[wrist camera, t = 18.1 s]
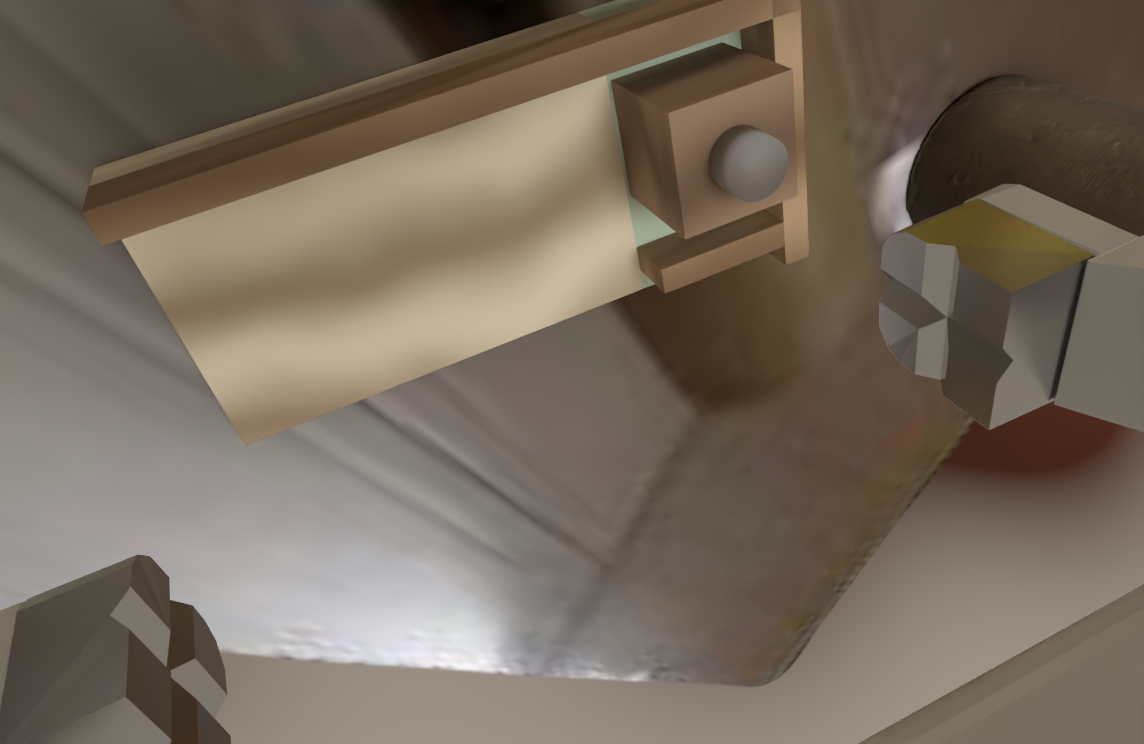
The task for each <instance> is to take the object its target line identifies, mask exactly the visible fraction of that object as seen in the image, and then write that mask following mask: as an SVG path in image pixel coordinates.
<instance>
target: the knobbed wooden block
mask: <svg viewBox="0 0 1144 744" xmlns="http://www.w3.org/2000/svg"><path fill="white" fill-rule="evenodd" d="M611 85H612V91H613V97H614V102H615V108H616V114H617V120H618V125H619V131H620V137H621V143H622V148H623V154H624V160H625V166H626V171H627V177H628V183H629V189H630V194H631V196H632V197H633V198H635V199H636V200H637V201H638V202H640V203H641V204H642V205H643V206H644V207H646V208H647V209H648V210H649V211H651V212H652V213H653V214H654V215H656V216H657V217H658V218H659V219H661V220H662V221H663V222H664V223H665V224H667V225H668V226H669V227H670V228H672V229H673V230H674V231H675V232H677V233H678V234H679V235H680V236H682V237H683V238H684V239H688V238H691V237H693V236H696V235H698V234H701V233H703V232H706V231H709V230H711V229H714V228H716V227H719V226H722V225H724V224H727V223H729V222H732V221H735V220H737V219H740V218H742V217H745V216H747V215H750V214H753V213H755V212H758V211H760V210H763V209H766V208H768V207H771V206H773V205H776V204H778V203H781V202H784V201H786V200H789V199H791V198H794V197H797V196H798V184H797V159H796V134H795V109H794V84H793V69H791V68H789V67H786V66H784V65H781V64H778V63H776V62H773V61H770V60H768V59H765V58H763V57H760V56H757V55H755V54H752V53H749V52H747V51H744V50H742V49H739V48H736V47H734V46H731V45H728V44H726V43H723V42H721V43H718V44H715V45H712V46H709V47H706V48H704V49H701V50H698V51H695V52H692V53H689V54H686V55H683V56H680V57H677V58H674V59H671V60H668V61H665V62H663V63H660V64H657V65H654V66H651V67H648V68H645V69H642V70H639V71H636V72H633V73H630V74H627V75H624V76H622V77H619V78H616V79H613V80H611Z"/></svg>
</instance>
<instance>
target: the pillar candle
mask: <svg viewBox="0 0 1144 744" xmlns="http://www.w3.org/2000/svg"><path fill="white" fill-rule="evenodd" d="M1002 184H1020V185H1023V186H1025V187H1027V188H1030V189H1032V190H1034V191H1036V192H1039V193H1041V194H1043V195H1045V196H1048V197H1050V198H1052V199H1054V200H1057V201H1059V202H1061V203H1063V204H1066V205H1068V206H1070V207H1073V208H1075V209H1077V210H1079V211H1082V212H1084V213H1086V214H1088V215H1091V216H1093V217H1095V218H1097V219H1100V220H1102V221H1104V222H1107V223H1109V224H1111V225H1113V226H1116V227H1118V228H1120V229H1122V230H1125V231H1127V232H1129V233H1131V234H1134V235H1136V236H1138V237H1141V236H1143V235H1144V110H1143V109H1140V108H1137V107H1133V106H1130V105H1127V104H1123V103H1120V102H1117V101H1114V100H1111V99H1108V98H1103V97H1099V96H1095V95H1091V94H1088V93H1085V92H1082V91H1080V90H1079V89H1074V88H1070V87H1067V86H1063V85H1060V84H1056V83H1053V82H1048V81H1042V80H1038V79H1034V78H1030V77H1025V76H1020V75H1009V76H1002V77H998V78H994V79H991V80H990V81H987V82H985V83H983V84H981V85H979V86H978V87H977V88H975V89H974V90H972V91H971V92H969V93H967V94H966V95H965V96H963V97H962V98H961V99H960V100H959V101H957V102H956V103H955V104H953V105H952V106H951V107H950V108H949V109H948V110H947V111H946V112H945V113H944V114H943V115H942V116H941V118H940V119H939V120H938V123H937V124H936V125H934V127H933V128H932V130H931V131H930V133H929V135H928V137H927V139H926V140H925V142H923V144H922V149H921V150H920V151H919V154H918V156H917V159H916V162H915V165H914V168H913V170H912V174H911V182H910V188H909V192H908V201H907V203H908V205H907V208H908V212H909V214H910V218H911V220H912V222H913V225H914V224H916V223H919V222H921V221H923V220H925V219H928V218H930V217H932V216H935V215H937V214H939V213H942V212H944V211H946V210H949V209H951V208H953V207H955V206H958V205H960V204H963V203H964V202H965V201H966V200H969V199H971V198H973V197H975V196H977V195H980V194H982V193H984V192H986V191H988V190H991V189H993V188H995V187H997V186H999V185H1002Z"/></svg>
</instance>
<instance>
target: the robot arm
mask: <svg viewBox="0 0 1144 744" xmlns="http://www.w3.org/2000/svg"><path fill="white" fill-rule="evenodd" d="M881 269H882V271H883V272H884V273H885V274H886V275H887V276H888V277H889V278H890V279H891V282H890V284H889V285H888V287H887V289H886V291H885V292H884V294H883V296H882V298H881V300H880V301H879V326H880V329H881V331H882V334H883V336H884V339H885V341H886V344H887V347H888V348H889V349H890V351H891V352H892V353H893V354H894V356H895V357H896V358H897V360H898V361H899V362H900V363H901V364H903V365H904V366H905V367H907V368H908V369H909V370H910V371H912V372H913V373H914V374H917V375H921V376H926V377H931V378H935V379H940V380H941V385H942V390H943V395H944V397H946V398H947V399H948V400H950V401H951V402H952V403H954V404H955V405H956V406H958V407H959V408H960V409H962V410H963V411H964V412H965V413H967V414H968V415H969V416H971V417H972V418H973V419H975V420H976V421H977V422H979V423H980V424H982V425H983V426H984V427H985V428H987V429H988V430H990V429H993V428H995V427H997V426H999V425H1001V424H1003V423H1006V422H1008V421H1010V420H1012V419H1015V418H1017V417H1019V416H1021V415H1023V414H1025V413H1027V412H1030V411H1032V410H1034V409H1036V408H1039V407H1041V406H1043V405H1045V404H1047V403H1050V402H1052V401H1054V400H1055V402H1054V405H1058V406H1061V407H1064V408H1068V409H1071V410H1074V411H1077V412H1080V413H1084V414H1087V415H1090V416H1093V417H1097V418H1100V419H1103V420H1106V421H1109V422H1113V423H1116V424H1119V425H1122V426H1126V427H1129V428H1132V429H1135V430H1139V431H1142V432H1144V235H1143V236H1141V237H1138V236H1136V235H1134V234H1131V233H1129V232H1127V231H1125V230H1122V229H1120V228H1118V227H1116V226H1113V225H1111V224H1109V223H1107V222H1104V221H1102V220H1100V219H1097V218H1095V217H1093V216H1091V215H1088V214H1086V213H1084V212H1082V211H1079V210H1077V209H1075V208H1073V207H1070V206H1068V205H1066V204H1063V203H1061V202H1059V201H1057V200H1054V199H1052V198H1050V197H1048V196H1045V195H1043V194H1041V193H1039V192H1036V191H1034V190H1032V189H1030V188H1027V187H1025V186H1023V185H1020V184H1002V185H999V186H997V187H995V188H993V189H991V190H988V191H986V192H984V193H982V194H980V195H977V196H975V197H973V198H971V199H969V200H966V201H965V202H964V203H963V204H960V205H958V206H955V207H953V208H951V209H949V210H946V211H944V212H942V213H939V214H937V215H935V216H932V217H930V218H928V219H925V220H923V221H921V222H919V223H916V224H914V225H912V226H909V227H907V228H905V229H902V230H900V231H898V232H895V233H893V234H891V235H889V236H888V238H887V240H886V242H885V244H884V247H883V249H882V260H881ZM226 696H227V688H226V678H225V669H224V665H223V662H222V659H221V656H220V652H219V649H218V646H217V643H216V640H215V638H214V636H213V635H212V633H211V631H210V629H209V627H208V626H207V624H206V622H205V620H204V619H203V618H202V617H201V615H200V614H199V613H198V612H197V610H196V609H195V608H194V607H193V606H192V605H188V604H184V603H180V602H176V601H172V600H170V588H169V577H168V576H167V575H166V573H165V572H164V571H163V570H162V569H161V568H160V567H159V566H158V565H157V564H156V563H155V561H154V560H153V559H152V558H151V557H150V556H144V555H136V556H133V557H131V558H128V559H126V560H123V561H121V562H118V563H116V564H113V565H111V566H108V567H106V568H103V569H101V570H98V571H96V572H93V573H91V574H88V575H86V576H83V577H81V578H78V579H76V580H73V581H71V582H69V583H66V584H64V585H61V586H59V587H56V588H54V589H51V590H49V591H46V592H44V593H41V594H39V595H36V596H34V597H31V598H29V599H27V601H25V602H22V603H18V604H16V605H13V606H11V607H9V608H6V609H4V610H1V611H0V744H231V739H230V735H229V734H228V733H227V732H226V731H225V729H224V728H223V727H222V726H221V725H220V724H219V723H218V722H217V721H216V720H215V717H216V715H217V713H218V711H219V709H220V707H221V706H222V704H223V702H224V700H225V698H226ZM858 744H1144V585H1142V586H1140V587H1138V588H1136V589H1134V590H1133V591H1131V592H1129V593H1127V594H1125V595H1124V596H1122V597H1120V598H1118V599H1117V600H1115V601H1113V602H1111V603H1109V604H1108V605H1106V606H1104V607H1102V608H1100V609H1099V610H1097V611H1095V612H1093V613H1091V614H1090V615H1088V616H1086V617H1084V618H1082V619H1081V620H1079V621H1077V622H1075V623H1073V624H1072V625H1070V626H1068V627H1067V628H1065V629H1063V630H1061V631H1059V632H1057V633H1056V634H1054V635H1052V636H1051V637H1049V638H1047V639H1045V640H1043V641H1041V642H1040V643H1038V644H1036V645H1034V646H1032V647H1030V648H1029V649H1027V650H1025V651H1023V652H1022V653H1020V654H1018V655H1016V656H1014V657H1013V658H1011V659H1009V660H1007V661H1005V662H1004V663H1002V664H1000V665H998V666H996V667H995V668H993V669H991V670H989V671H987V672H986V673H984V674H982V675H980V676H978V677H977V678H975V679H973V680H971V681H970V682H968V683H966V684H964V685H963V686H961V687H959V688H957V689H955V690H954V691H952V692H950V693H948V694H947V695H944V696H943V697H941V698H939V699H937V700H936V701H934V702H932V703H930V704H928V705H927V706H925V707H923V708H921V709H920V710H918V711H916V712H914V713H912V714H910V715H909V716H907V717H905V718H903V719H901V720H900V721H898V722H896V723H894V724H893V725H891V726H889V727H887V728H885V729H884V730H882V731H880V732H878V733H876V734H875V735H873V736H871V737H869V738H867V739H866V740H864V741H862V742H860V743H858Z"/></svg>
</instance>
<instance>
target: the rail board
mask: <svg viewBox="0 0 1144 744" xmlns="http://www.w3.org/2000/svg"><path fill="white" fill-rule="evenodd" d="M721 42H723V43H726V44H728V45H731V46H734V47H736V48H739V49H742V50H744V51H747V52H749V53H752V54H755V55H757V56H760V57H763V58H765V59H768V60H770V61H773V62H776V63H778V64H781V65H784V66H786V67H789V68H791V69H793V84H794V109H795V134H796V159H797V184H798V196H797V197H794V198H791V199H789V200H786V201H784V202H781V203H778V204H776V205H773V206H771V207H768V208H766V209H763V210H760V211H758V212H755V213H753V214H750V215H747V216H745V217H742V218H740V219H737V220H735V221H732V222H729V223H727V224H724V225H722V226H719V227H716V228H714V229H711V230H709V231H706V232H703V233H701V234H698V235H696V236H693V237H691V238H688V239H684V238H683V237H682V236H680V235H679V234H678V233H677V232H675V231H674V230H673V229H672V228H670V227H669V226H668V225H667V224H665V223H664V222H663V221H662V220H661V219H659V218H658V217H657V216H656V215H654V214H653V213H652V212H651V211H649V210H648V209H647V208H646V207H644V206H643V205H642V204H641V203H640V202H638V201H637V200H636V199H635V198H633V197H632V196H631V194H630V189H629V183H628V177H627V171H626V166H625V160H624V154H623V148H622V143H621V137H620V131H619V125H618V120H617V114H616V108H615V102H614V97H613V91H612V85H611V80H613V79H616V78H619V77H622V76H624V75H627V74H630V73H633V72H636V71H639V70H642V69H645V68H648V67H651V66H654V65H657V64H660V63H663V62H665V61H668V60H671V59H674V58H677V57H680V56H683V55H686V54H689V53H692V52H695V51H698V50H701V49H704V48H706V47H709V46H712V45H715V44H718V43H721ZM81 213H82V215H83V216H84V218H85V220H86V221H87V223H88V224H89V226H90V228H91V229H92V231H93V232H94V234H95V236H96V237H97V239H98V241H99V242H100V244H101V245H102V246H104V245H107V244H110V243H113V242H116V241H119V240H122V242H123V243H124V245H125V247H126V248H127V250H128V252H129V253H130V255H131V257H132V258H133V260H134V262H135V263H136V265H137V267H138V268H139V270H140V272H141V273H142V275H143V277H144V278H145V280H146V282H147V283H148V285H149V287H150V288H151V290H152V292H153V293H154V295H155V297H156V298H157V300H158V302H159V303H160V305H161V307H162V308H163V310H164V312H165V313H166V315H167V317H168V318H169V320H170V322H171V323H172V325H173V327H174V328H175V330H176V332H177V333H178V335H179V337H180V338H181V340H182V342H183V343H184V345H185V347H186V348H187V350H188V352H189V353H190V355H191V357H192V358H193V360H194V362H195V363H196V365H197V367H198V368H199V370H200V371H201V373H202V375H203V376H204V378H205V380H206V381H207V383H208V385H209V386H210V388H211V390H212V391H213V393H214V395H215V396H216V398H217V400H218V401H219V403H220V405H221V406H222V408H223V410H224V411H225V413H226V415H227V416H228V418H229V420H230V421H231V423H232V425H233V426H234V428H235V430H236V431H237V433H238V435H239V436H240V438H241V440H242V441H243V443H244V445H245V446H246V445H248V444H251V443H253V442H256V441H258V440H261V439H263V438H266V437H268V436H271V435H274V434H276V433H279V432H281V431H284V430H286V429H289V428H291V427H294V426H296V425H299V424H301V423H304V422H306V421H309V420H312V419H314V418H317V417H319V416H322V415H324V414H327V413H329V412H332V411H334V410H337V409H339V408H342V407H345V406H347V405H350V404H352V403H355V402H357V401H360V400H362V399H365V398H367V397H370V396H372V395H375V394H377V393H380V392H383V391H385V390H388V389H390V388H393V387H395V386H398V385H400V384H403V383H405V382H408V381H410V380H413V379H415V378H418V377H421V376H423V375H426V374H428V373H431V372H433V371H436V370H438V369H441V368H443V367H446V366H448V365H451V364H453V363H456V362H459V361H461V360H464V359H466V358H469V357H471V356H474V355H476V354H479V353H481V352H484V351H486V350H489V349H491V348H494V347H497V346H499V345H502V344H504V343H507V342H509V341H512V340H514V339H517V338H519V337H522V336H524V335H527V334H529V333H532V332H535V331H537V330H540V329H542V328H545V327H547V326H550V325H552V324H555V323H557V322H560V321H562V320H565V319H567V318H570V317H573V316H575V315H578V314H580V313H583V312H585V311H588V310H590V309H593V308H595V307H598V306H600V305H603V304H605V303H608V302H611V301H613V300H616V299H618V298H621V297H623V296H626V295H628V294H631V293H633V292H636V291H638V290H641V289H643V288H646V287H649V286H651V285H654V284H656V285H657V286H658V287H659V288H660V289H661V290H662V291H663V292H664V293H665V294H666V293H668V292H671V291H673V290H676V289H678V288H681V287H683V286H686V285H688V284H691V283H693V282H696V281H698V280H701V279H703V278H706V277H708V276H711V275H713V274H716V273H718V272H721V271H723V270H726V269H728V268H731V267H733V266H736V265H738V264H741V263H743V262H746V261H748V260H751V259H753V258H756V257H758V256H761V255H763V254H766V253H770V254H771V255H773V256H774V257H775V258H777V259H778V260H780V261H781V262H782V263H784V264H785V265H788V264H790V263H793V262H795V261H798V260H800V259H802V258H805V257H807V256H809V246H808V216H807V185H806V155H805V125H804V94H803V64H802V33H801V3H800V0H614V1H611V2H608V3H605V4H602V5H599V6H595V7H592V8H589V9H586V10H583V11H580V12H577V13H574V14H571V15H567V16H564V17H561V18H558V19H555V20H552V21H549V22H546V23H543V24H539V25H536V26H533V27H530V28H527V29H524V30H521V31H518V32H515V33H512V34H508V35H505V36H502V37H499V38H496V39H493V40H490V41H487V42H484V43H480V44H477V45H474V46H471V47H468V48H465V49H462V50H459V51H456V52H452V53H449V54H446V55H443V56H440V57H437V58H434V59H431V60H428V61H425V62H421V63H418V64H415V65H412V66H409V67H406V68H403V69H400V70H397V71H393V72H390V73H387V74H384V75H381V76H378V77H375V78H372V79H369V80H365V81H362V82H359V83H356V84H353V85H350V86H347V87H344V88H341V89H338V90H334V91H331V92H328V93H325V94H322V95H319V96H316V97H313V98H310V99H306V100H303V101H300V102H297V103H294V104H291V105H288V106H285V107H282V108H278V109H275V110H272V111H269V112H266V113H263V114H260V115H257V116H254V117H251V118H247V119H244V120H241V121H238V122H235V123H232V124H229V125H226V126H223V127H219V128H216V129H213V130H210V131H207V132H204V133H201V134H198V135H195V136H191V137H188V138H185V139H182V140H179V141H176V142H173V143H170V144H167V145H163V146H160V147H157V148H154V149H151V150H148V151H145V152H142V153H139V154H136V155H132V156H129V157H126V158H123V159H120V160H117V161H114V162H111V163H108V164H104V165H101V166H98V167H95V168H94V171H93V175H92V178H91V181H90V185H89V188H88V192H87V195H86V198H85V202H84V205H83V208H82V212H81Z"/></svg>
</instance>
